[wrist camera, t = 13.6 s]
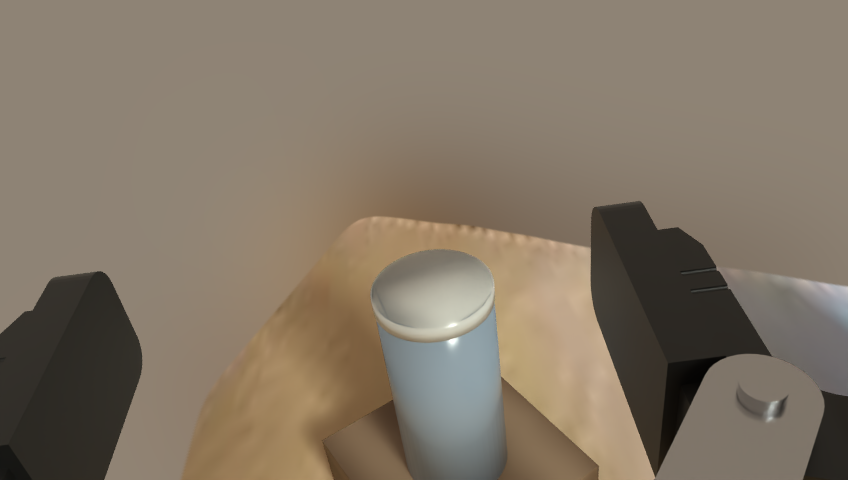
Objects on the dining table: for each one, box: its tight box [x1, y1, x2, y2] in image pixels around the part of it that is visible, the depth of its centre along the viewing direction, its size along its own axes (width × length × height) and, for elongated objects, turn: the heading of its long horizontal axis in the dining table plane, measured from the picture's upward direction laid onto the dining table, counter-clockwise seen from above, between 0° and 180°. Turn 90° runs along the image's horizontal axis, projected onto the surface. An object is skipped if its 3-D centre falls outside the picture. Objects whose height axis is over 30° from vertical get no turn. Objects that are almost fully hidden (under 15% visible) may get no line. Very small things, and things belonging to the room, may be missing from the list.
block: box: [322, 377, 599, 480], centre depth 42 cm, size 11×11×4 cm
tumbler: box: [370, 249, 508, 480], centre depth 38 cm, size 6×6×12 cm
